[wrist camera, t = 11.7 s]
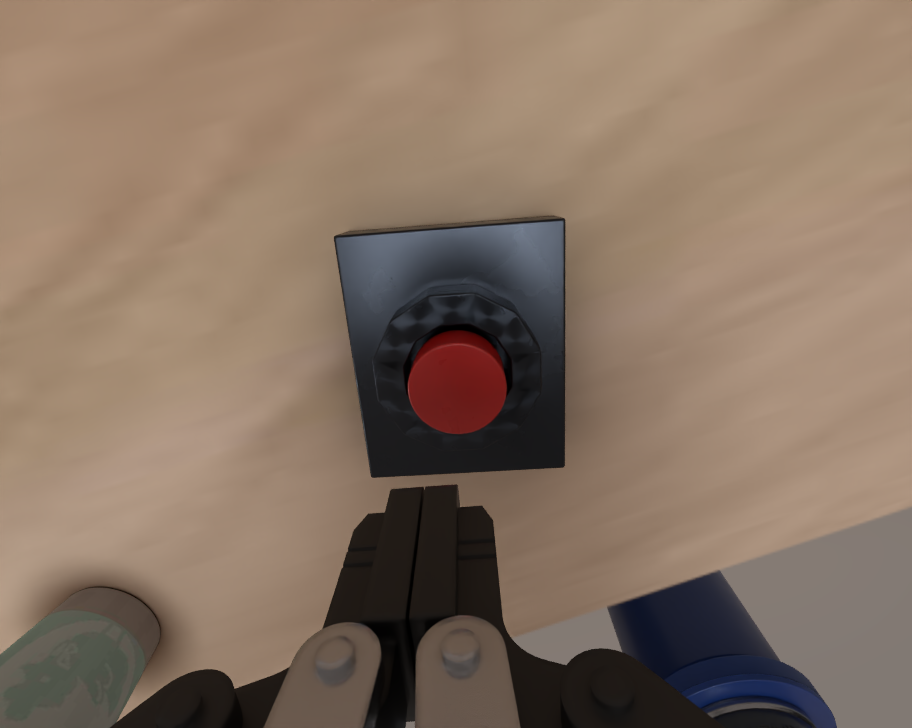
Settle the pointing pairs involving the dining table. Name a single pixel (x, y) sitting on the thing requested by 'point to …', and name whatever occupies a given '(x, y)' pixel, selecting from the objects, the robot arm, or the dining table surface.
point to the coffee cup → (78, 662)
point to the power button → (457, 382)
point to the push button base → (458, 308)
